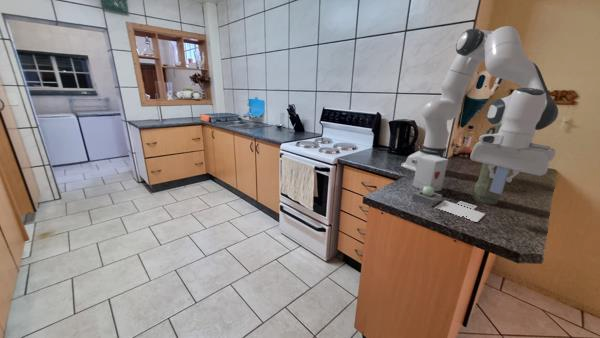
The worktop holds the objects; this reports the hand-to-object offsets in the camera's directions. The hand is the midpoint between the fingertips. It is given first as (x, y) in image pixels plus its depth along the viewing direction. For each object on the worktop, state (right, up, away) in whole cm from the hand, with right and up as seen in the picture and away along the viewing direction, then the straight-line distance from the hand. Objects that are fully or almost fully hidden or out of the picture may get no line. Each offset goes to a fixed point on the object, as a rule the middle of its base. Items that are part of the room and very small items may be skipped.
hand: (499, 179), depth 84 cm
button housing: (-17, -10, +17) cm, 26 cm away
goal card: (-2, -11, +13) cm, 17 cm away
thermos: (+9, -10, +18) cm, 23 cm away
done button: (-17, -7, +16) cm, 24 cm away
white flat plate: (-8, -13, +8) cm, 17 cm away
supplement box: (-10, -6, +30) cm, 32 cm away
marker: (0, -4, +2) cm, 5 cm away
